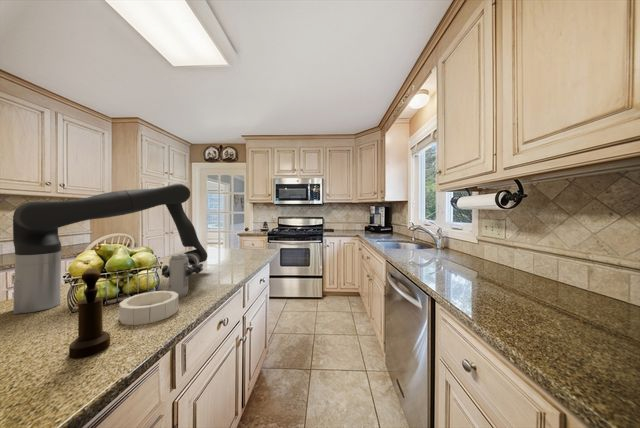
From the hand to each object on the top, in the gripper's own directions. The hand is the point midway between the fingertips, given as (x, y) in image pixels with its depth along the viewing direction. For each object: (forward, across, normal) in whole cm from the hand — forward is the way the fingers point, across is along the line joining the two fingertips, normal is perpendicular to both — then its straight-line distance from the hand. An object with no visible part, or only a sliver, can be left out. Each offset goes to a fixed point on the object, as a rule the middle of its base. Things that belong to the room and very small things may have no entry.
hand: (177, 274), depth 83 cm
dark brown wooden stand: (+29, -10, +9) cm, 32 cm away
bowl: (+12, -4, +8) cm, 15 cm away
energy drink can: (-2, 0, +9) cm, 9 cm away
